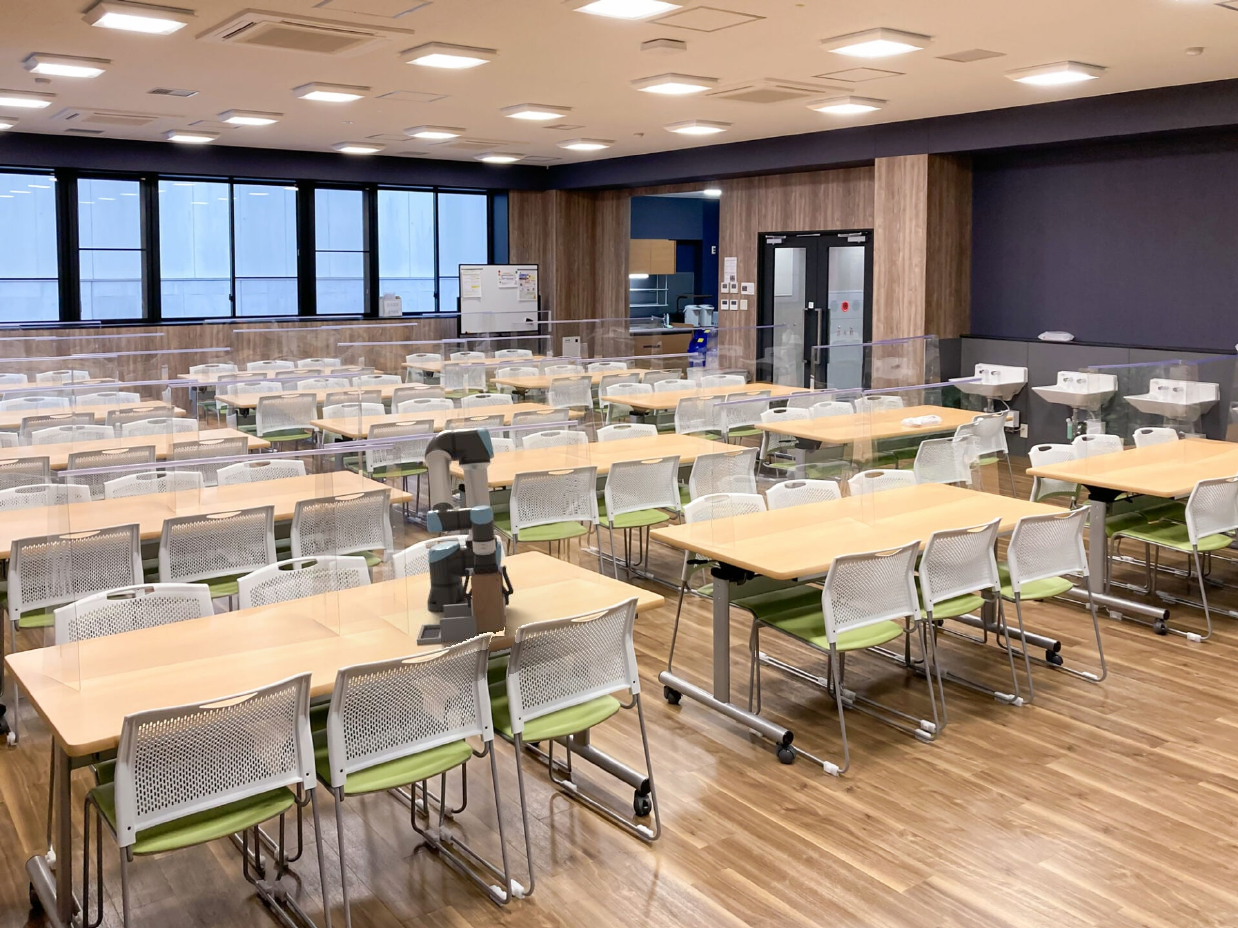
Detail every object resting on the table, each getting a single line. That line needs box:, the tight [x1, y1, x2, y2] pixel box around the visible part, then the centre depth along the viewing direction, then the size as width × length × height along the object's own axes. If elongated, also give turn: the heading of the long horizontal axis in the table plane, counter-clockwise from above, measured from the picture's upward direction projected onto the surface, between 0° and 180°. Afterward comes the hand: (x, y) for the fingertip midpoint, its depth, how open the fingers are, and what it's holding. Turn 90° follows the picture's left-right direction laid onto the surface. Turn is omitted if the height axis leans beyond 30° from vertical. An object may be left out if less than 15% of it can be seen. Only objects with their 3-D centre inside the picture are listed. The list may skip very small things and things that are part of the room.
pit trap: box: [416, 623, 442, 645], centre depth 396 cm, size 16×8×2 cm, turn 4°
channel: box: [438, 604, 478, 643], centre depth 396 cm, size 16×12×8 cm
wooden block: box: [470, 570, 507, 634], centre depth 397 cm, size 10×10×20 cm
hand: (489, 615), depth 397 cm, fingers closed on wooden block, 10 cm apart
